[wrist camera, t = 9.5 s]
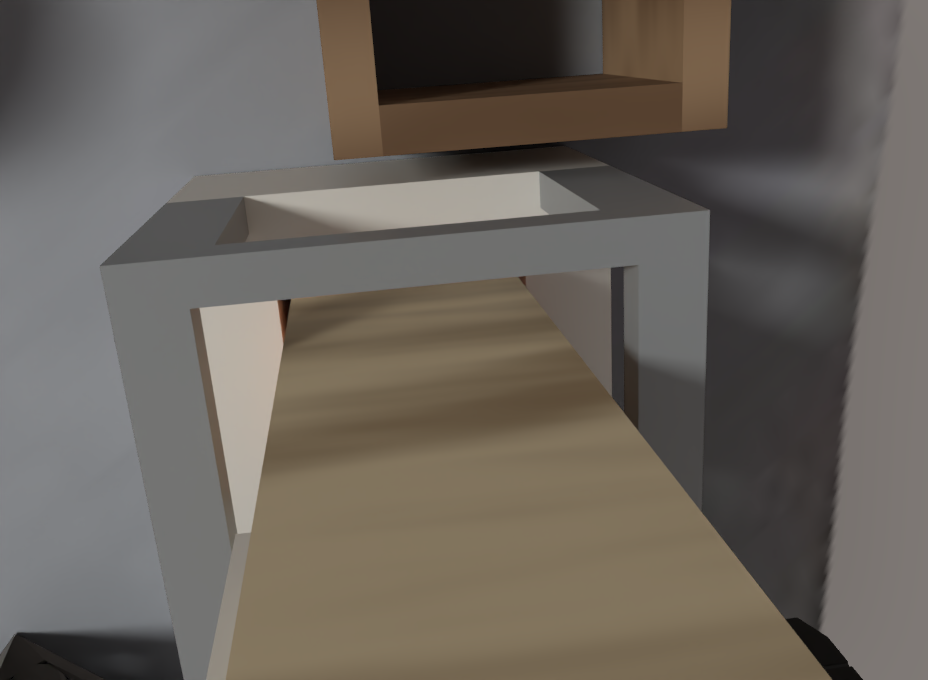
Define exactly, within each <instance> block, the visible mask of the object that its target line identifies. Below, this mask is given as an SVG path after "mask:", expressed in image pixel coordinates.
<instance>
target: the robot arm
mask: <svg viewBox="0 0 928 680" xmlns="http://www.w3.org/2000/svg"><path fill="white" fill-rule="evenodd" d="M250 535H251V532H249V533H242V534H235V539H234V544H233V549H232V553H231V558H230V563H229V568H228V573H227V578H226V583H225V588H224V593H223V598H222V603H221V608H220V613H219V618H218V623H217V627H216V632H215V637H214V642H213V647H212V652H211V657H210V662H209V667H208V672H207V677H206V680H226V675H227V669H228V663H229V657H230V651H231V646H232V640H233V634H234V628H235V622H236V617H237V611H238V605H239V599H240V593H241V588H242V582H243V576H244V570H245V564H246V559H247V553H248V547H249V541H250ZM785 620H786V621H787V622H788V624H789V625H790V626H791V627H792V629H793V630H794V631H795V633H796V634H797V635H798V636H799V638H800V639H801V640H802V641H803V643H804V644H805V645H806V647H807V648H808V649H809V650H810V652H811V653H812V654H813V656H814V657H815V658H816V659H817V661H818V662H819V663H820V665H821V666H822V667H823V668H824V670H825V671H826V672H827V674H828V675H829V676H830V677H831V679H832V680H863V679H862V678H861V677H860V676H859V674H858V673H857V672H856V671H855V670H854V668H853V667H849V665H848V661H847V660H846V659H845V657H844V656H843V655H842V654H841V653H840V651H839V650H838V649H837V648H836V647H835V645H834V644H833V643H832V642H831V641H830V639H829V638H828V637H827V636H825V635H824V634H822V633H821V632H819V631H817V630H816V629H814V628H813V627H811V626H810V625H808V624H806V623H805V622H803V621H802V620H800V619H799V618H791V619H785Z"/></svg>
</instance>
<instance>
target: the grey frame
mask: <svg viewBox="0 0 928 680" xmlns="http://www.w3.org/2000/svg"><path fill="white" fill-rule="evenodd" d="M709 232H710V210H709V209H706V208H704V207H702V206H700V205H697V204H695V203H693V202H691V201H688V200H686V199H684V198H682V197H679V196H677V195H675V194H673V193H670V192H668V191H666V190H664V189H661V188H659V187H657V186H655V185H653V184H650V183H648V182H646V181H644V180H641V179H639V178H637V177H635V176H632V175H630V174H628V173H626V172H623V171H621V170H619V169H617V168H614V167H612V166H610V165H608V164H605V163H603V162H601V161H599V160H596V159H594V158H592V157H590V156H587V155H585V154H583V153H581V152H578V151H576V150H574V149H572V148H569V147H567V146H558V147H546V148H534V149H521V150H509V151H497V152H485V153H473V154H460V155H448V156H436V157H424V158H412V159H399V160H387V161H375V162H363V163H351V164H339V165H326V166H314V167H302V168H290V169H278V170H265V171H253V172H241V173H229V174H217V175H205V176H195V177H193V178H192V179H191V180H190V181H189V182H188V183H187V184H186V185H185V186H184V187H183V188H182V189H181V190H180V191H179V192H178V193H177V194H175V195H174V196H173V197H172V198H171V199H170V200H169V201H168V202H167V203H166V204H165V205H164V206H163V207H162V208H161V209H160V210H159V211H157V212H156V213H155V214H154V215H153V216H152V217H151V218H150V219H149V220H148V221H147V222H146V223H145V224H144V225H143V226H142V227H141V228H139V229H138V230H137V231H136V232H135V233H134V234H133V235H132V236H131V237H130V238H129V239H128V240H127V241H126V242H125V243H124V244H123V245H121V246H120V247H119V248H118V249H117V250H116V251H115V252H114V253H113V254H112V255H111V256H110V257H109V258H108V259H107V260H106V261H105V262H103V263H102V264H101V265H100V271H101V276H102V281H103V286H104V290H105V295H106V300H107V305H108V310H109V315H110V320H111V325H112V330H113V335H114V340H115V344H116V349H117V354H118V359H119V364H120V369H121V374H122V379H123V384H124V389H125V394H126V399H127V403H128V408H129V413H130V418H131V423H132V428H133V433H134V438H135V443H136V448H137V453H138V457H139V462H140V467H141V472H142V477H143V482H144V487H145V492H146V497H147V502H148V507H149V512H150V516H151V521H152V526H153V531H154V536H155V541H156V546H157V551H158V556H159V561H160V566H161V570H162V575H163V580H164V585H165V590H166V595H167V600H168V605H169V610H170V615H171V620H172V625H173V629H174V634H175V639H176V644H177V649H178V654H179V659H180V664H181V669H182V674H183V679H184V680H206V677H207V672H208V667H209V662H210V657H211V652H212V647H213V642H214V637H215V632H216V627H217V623H218V618H219V613H220V608H221V603H222V598H223V593H224V588H225V583H226V578H227V573H228V568H229V563H230V558H231V553H232V549H233V544H234V539H235V534H242V533H249V532H251V530H252V524H253V518H254V512H255V506H256V501H257V495H258V489H259V483H260V477H261V472H262V466H263V460H264V454H265V448H266V443H267V437H268V431H269V425H270V420H271V414H272V408H273V402H274V396H275V391H276V385H277V379H278V373H279V367H280V362H281V356H282V350H283V344H284V338H285V333H286V327H287V321H288V315H289V309H290V304H291V299H296V298H306V297H316V296H327V295H337V294H347V293H357V292H367V291H378V290H388V289H398V288H408V287H419V286H429V285H439V284H449V283H459V282H470V281H480V280H490V279H500V278H510V277H519V279H520V280H521V281H522V283H523V284H524V285H525V286H526V288H527V289H528V290H529V292H530V293H531V294H532V295H533V297H534V298H535V299H536V301H537V302H538V303H539V304H540V306H541V307H542V308H543V309H544V311H545V312H546V313H547V315H548V316H549V317H550V318H551V320H552V321H553V322H554V324H555V325H556V326H557V327H558V329H559V330H560V331H561V333H562V334H563V335H564V336H565V338H566V339H567V340H568V342H569V343H570V344H571V345H572V347H573V348H574V349H575V350H576V352H577V353H578V354H579V356H580V357H581V358H582V359H583V361H584V362H585V363H586V365H587V366H588V367H589V368H590V370H591V371H592V372H593V374H594V375H595V376H596V377H597V379H598V380H599V381H600V383H601V384H602V385H603V386H604V388H605V389H606V390H607V392H608V393H609V394H610V395H611V397H612V348H611V268H612V267H623V266H624V413H625V415H626V416H627V417H628V418H629V420H630V421H631V422H632V424H633V425H634V426H635V427H636V429H637V430H638V431H639V433H640V434H641V435H642V436H643V438H644V439H645V440H646V442H647V443H648V444H649V445H650V447H651V448H652V449H653V450H654V452H655V453H656V454H657V456H658V457H659V458H660V459H661V461H662V462H663V463H664V465H665V466H666V467H667V468H668V470H669V471H670V472H671V474H672V475H673V476H674V477H675V479H676V480H677V481H678V483H679V484H680V485H681V486H682V488H683V489H684V490H685V492H686V493H687V494H688V495H689V497H690V498H691V499H692V500H693V502H694V503H695V504H696V506H697V507H698V508H699V509H700V511H701V512H702V487H703V451H704V414H705V378H706V341H707V305H708V269H709Z"/></svg>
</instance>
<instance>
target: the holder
mask: <svg viewBox="0 0 928 680" xmlns="http://www.w3.org/2000/svg"><path fill="white" fill-rule="evenodd" d="M316 1H317V10H318V19H319V28H320V37H321V46H322V55H323V64H324V73H325V82H326V92H327V101H328V110H329V119H330V128H331V137H332V146H333V155H334V160H342V159H354V158H367V157H379V156H391V155H403V154H416V153H428V152H440V151H452V150H465V149H477V148H489V147H501V146H514V145H526V144H538V143H551V142H563V141H575V140H587V139H600V138H612V137H624V136H636V135H649V134H661V133H673V132H686V131H698V130H710V129H722V128H727V115H728V85H729V54H730V24H731V0H602V25H603V74H593V75H579V76H566V77H552V78H538V79H525V80H511V81H497V82H484V83H470V84H456V85H443V86H429V87H416V88H402V89H388V90H377V82H376V71H375V60H374V50H373V39H372V28H371V17H370V6H369V0H316Z"/></svg>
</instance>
